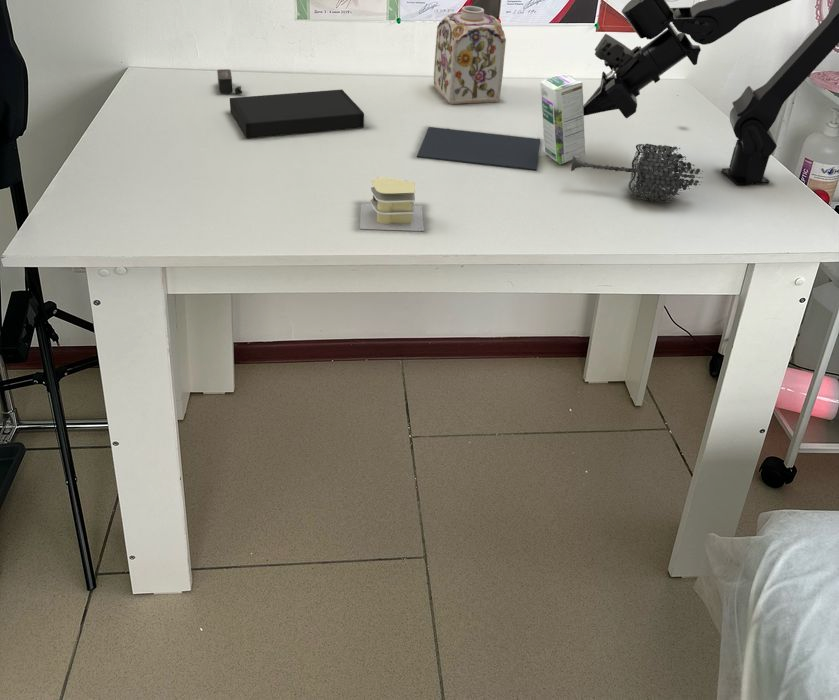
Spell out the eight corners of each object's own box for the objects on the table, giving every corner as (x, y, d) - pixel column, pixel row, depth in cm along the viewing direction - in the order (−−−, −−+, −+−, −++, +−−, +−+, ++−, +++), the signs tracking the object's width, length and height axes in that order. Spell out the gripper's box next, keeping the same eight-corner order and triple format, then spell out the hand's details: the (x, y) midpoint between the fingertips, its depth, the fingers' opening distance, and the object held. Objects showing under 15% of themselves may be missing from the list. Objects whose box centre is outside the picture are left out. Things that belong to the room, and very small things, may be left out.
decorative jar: (432, 86, 199) (437, 1, 189) (481, 84, 202) (489, 0, 192) (449, 105, 190) (456, 17, 179) (501, 102, 193) (510, 15, 183)
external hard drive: (230, 112, 180) (229, 97, 178) (342, 103, 187) (342, 88, 186) (246, 138, 169) (245, 123, 167) (364, 128, 177) (364, 113, 175)
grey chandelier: (568, 178, 162) (576, 127, 157) (693, 191, 160) (705, 141, 155) (567, 200, 154) (575, 148, 149) (698, 214, 152) (711, 162, 147)
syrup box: (543, 154, 171) (537, 81, 162) (570, 143, 172) (566, 71, 163) (559, 165, 167) (554, 91, 157) (587, 154, 168) (583, 80, 159)
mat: (540, 140, 176) (540, 139, 176) (536, 170, 164) (536, 169, 164) (428, 128, 178) (428, 126, 178) (416, 157, 166) (416, 155, 166)
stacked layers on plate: (421, 206, 149) (423, 175, 146) (423, 231, 142) (425, 199, 139) (361, 204, 149) (361, 172, 146) (359, 229, 141) (360, 196, 138)
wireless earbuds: (219, 96, 187) (218, 80, 185) (218, 84, 192) (217, 69, 191) (242, 95, 188) (241, 80, 186) (240, 84, 193) (239, 69, 192)
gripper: (626, 8, 162) (555, 63, 169) (630, 36, 147) (552, 95, 154) (661, 57, 166) (590, 108, 173) (668, 89, 151) (591, 145, 158)
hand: (581, 113), depth 164 cm, fingers closed
